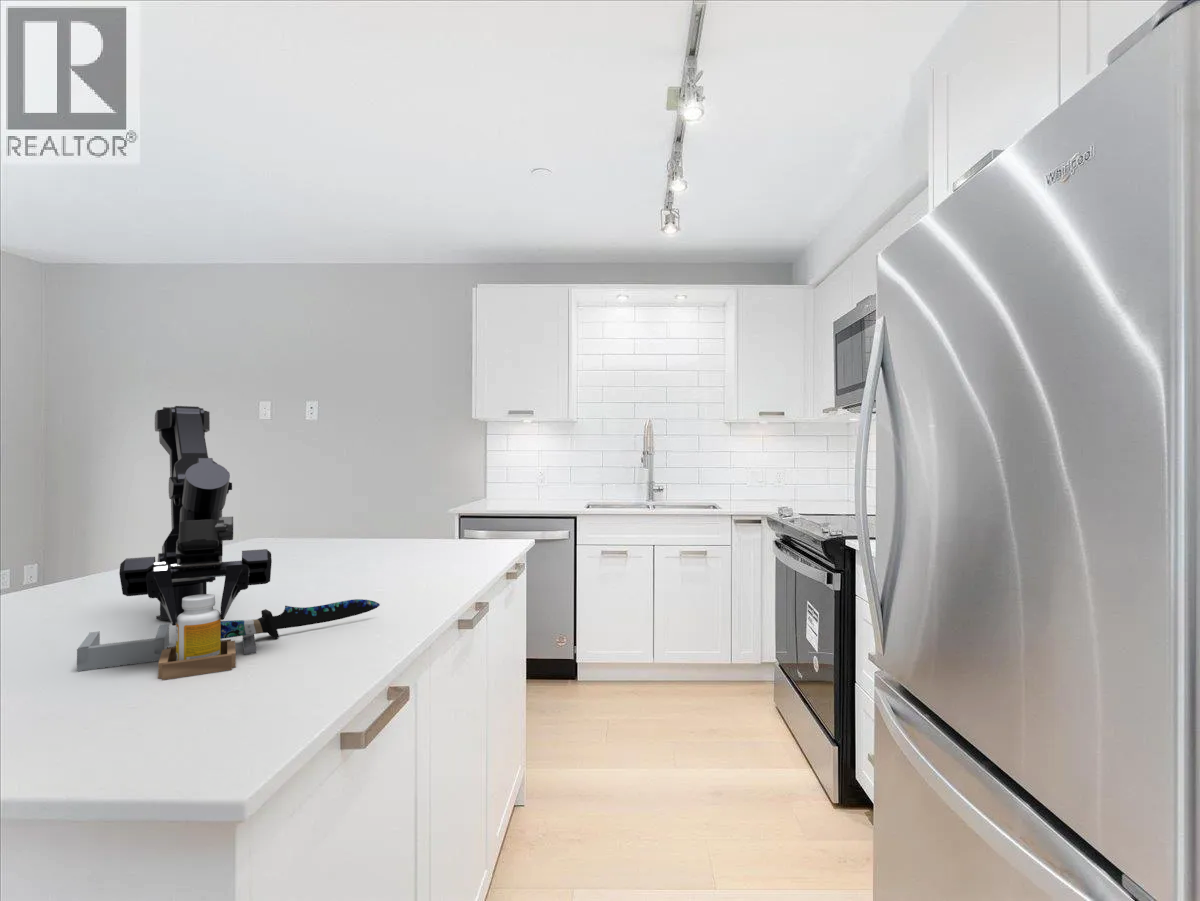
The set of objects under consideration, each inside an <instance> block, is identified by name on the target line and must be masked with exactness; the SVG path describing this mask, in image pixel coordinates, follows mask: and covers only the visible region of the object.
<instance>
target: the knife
mask: <svg viewBox="0 0 1200 901" xmlns="http://www.w3.org/2000/svg"><path fill="white" fill-rule="evenodd" d="M380 604H381V603H379V602H378V601H377V602H376V601H374V600H370V599H358V598H357V599H356V598H354V599H348V600H341V601H338V602H332V603H327V604H321V605H315V606H307V607H301V606H300V607H299V606H298V607H297V606H289V605H285V606H284V610H283V611H282V613H280V614H278V615H273V613H272V611H270V610H268V609H266V608H265V609H263V610H261V611H260V613H261V617H258V618H256V619H255V618H254V619H241V620H240V619H237V620H221V640H222V639H223V640H224V639H229V638H235V637H236V638H237V637H243V636H244V635H251V634H254V635H259V634H268V636H269V637H271V638H272V639H274V638H275V639H274V640H277V639H278V638H280V634H279V631H278V630H281V629H282V630H284V629H288V628H290V629H291V628H298V627H299V628H300V627H305V626H309V625H311V626H312V625H315V624H316V625H317V624H322V623H329V622H332V621H337V620H342V619H346V618H350V617H354V616H358V615H361V614H364V613H368V612H371V611H373V610H375V609H377V608H379V607H380V606H381V605H380Z"/></svg>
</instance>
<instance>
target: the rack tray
mask: <svg viewBox="0 0 1200 901" xmlns="http://www.w3.org/2000/svg"><path fill="white" fill-rule="evenodd" d="M157 629H158V630H157V632H156V634H155V636H154V637H152V638H145V639H136V640H135V639H134V640H126V641H119V642H110V643H109V642H108V643H103V644H102V643H101V642H100V640H101V639H100V638H101V636H100V634H101V632H100V631H99V630H98V631H91V632H90V631H89V633H88V634H87V636H86V637H85V638H84V640H83V641H82V643H80V645H79V646H78V648H77V649H76V672H77V671H78V672H83V671H82V670H85V671H91V670H90V669H93V670H98V669H97V668H100V669H106V668H105V667H108V668H113V667H112V666H115V667H120V665H123V666H128V665H127V664H130V665H135V664H137V663H138V664H143V663H151V662H157V661H158V662H159V659H160V656H161V653H162V650H164V649H167V647H169V645H170V644H169V643H170V623H164V624H162V623H161V624H159V626H158V628H157Z"/></svg>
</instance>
